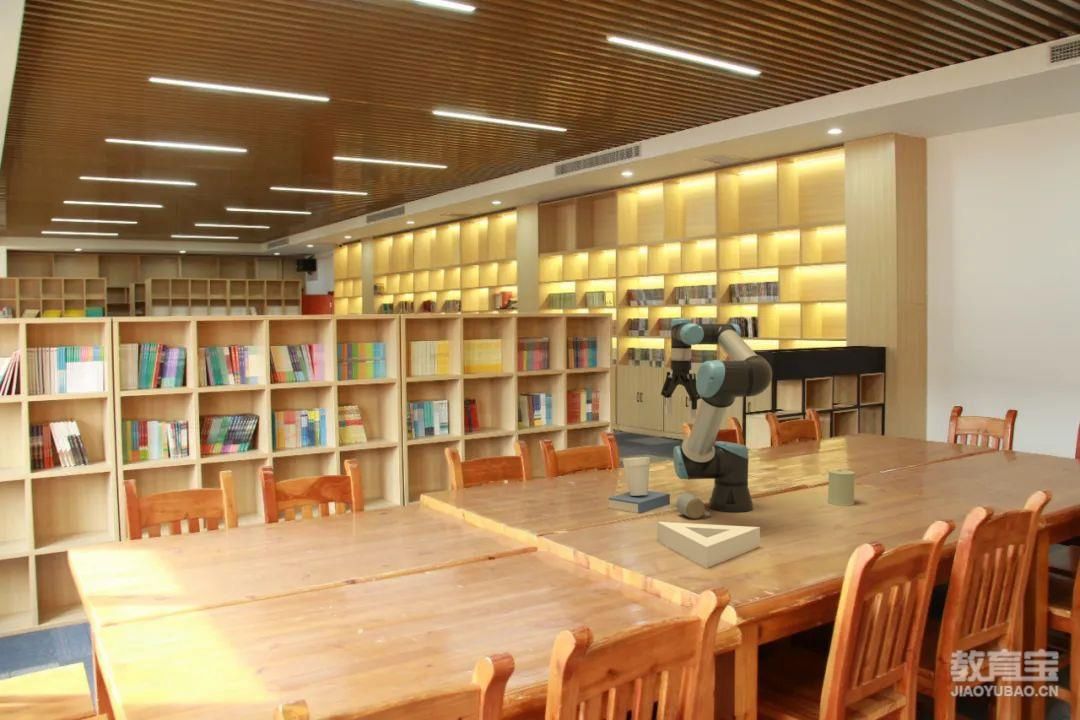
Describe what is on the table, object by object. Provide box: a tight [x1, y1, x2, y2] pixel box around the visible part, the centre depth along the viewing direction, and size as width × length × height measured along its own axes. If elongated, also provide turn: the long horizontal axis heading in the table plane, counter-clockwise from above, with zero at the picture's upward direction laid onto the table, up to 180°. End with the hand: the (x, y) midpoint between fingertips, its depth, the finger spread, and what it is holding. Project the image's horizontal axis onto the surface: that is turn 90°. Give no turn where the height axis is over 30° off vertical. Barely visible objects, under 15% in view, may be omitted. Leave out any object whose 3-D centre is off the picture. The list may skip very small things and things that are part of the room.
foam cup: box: [622, 456, 651, 496], centre depth 301 cm, size 10×9×13 cm
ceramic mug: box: [676, 492, 712, 520], centre depth 284 cm, size 11×8×8 cm
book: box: [608, 490, 671, 515], centre depth 301 cm, size 13×20×4 cm, turn 140°
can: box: [827, 469, 856, 507], centre depth 307 cm, size 9×9×12 cm
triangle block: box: [656, 521, 761, 569], centre depth 242 cm, size 30×26×6 cm
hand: (680, 416), depth 314 cm, fingers open, 13 cm apart
